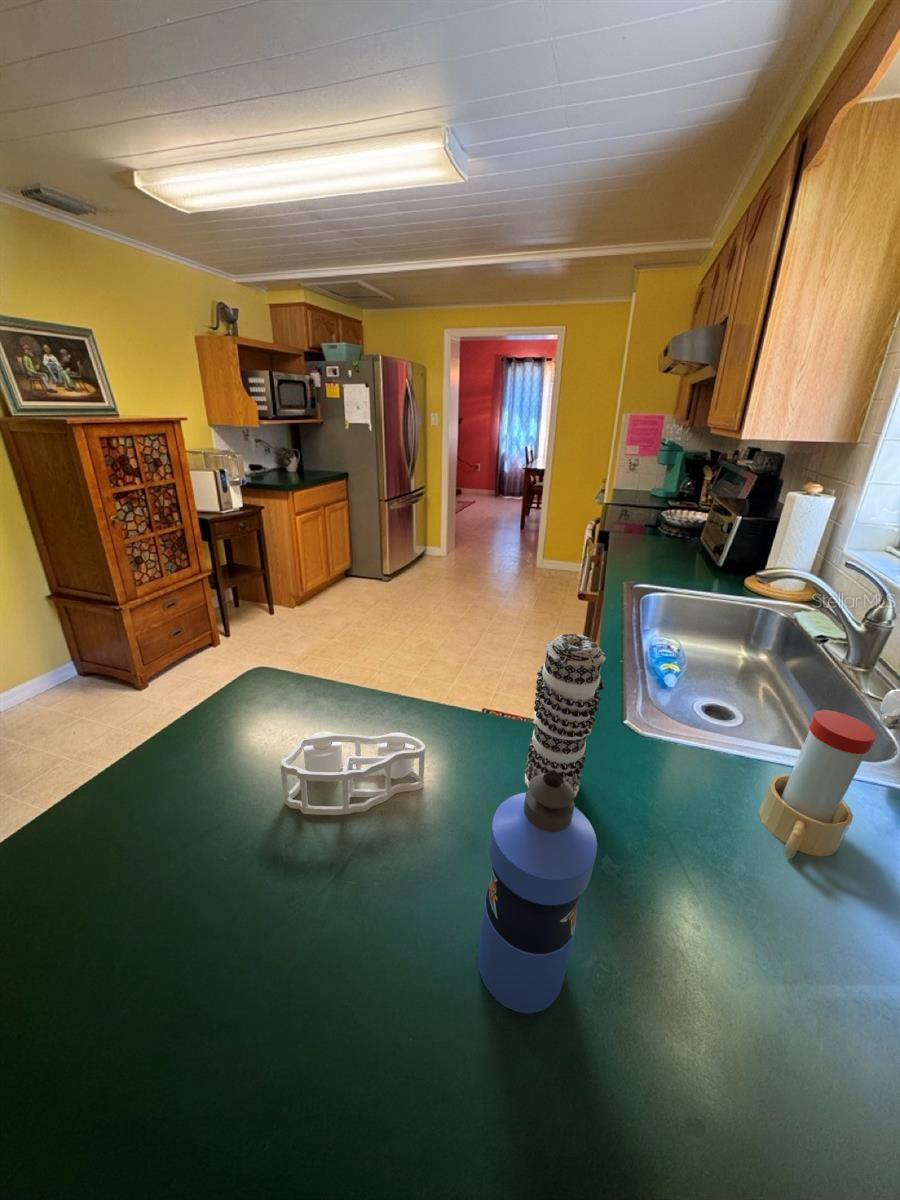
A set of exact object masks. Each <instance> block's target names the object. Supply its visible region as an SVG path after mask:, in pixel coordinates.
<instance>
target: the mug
mask: <svg viewBox="0 0 900 1200" xmlns="http://www.w3.org/2000/svg"><path fill="white" fill-rule="evenodd" d="M790 775H791V773H784V774H783V773H782V774H778V775H776V776H774V777H772V779H771V781H770V782H769V786H768V788H767V790H766V793H765V795H764V797H763V800H762V802H761V805H760V808H759V811H758V812H759V817H760V820H761V823H762V824H763V825H764V827H765V828H766V829H767V830H768V831H769V833H771V835H773V836H774V837H775V838H777V839H778V840H779V841H781V842H782V843H783V844H785V846H784V849H783V854H784V856H785V857H786V858H788V859H793V858H794V857H795V856H796V854H797V851H798V852H801V853H804V854H807V855H811V856H814V857H815V856H816V857H828V856H832V855H834V854H835V853H836V852H837V851H838V848H839V847H840V846H841V843H842V842H843V841H844V838H845V836H846V834H847V832H848V830H849V828H850V826H851V824H852V822H853V818H854V815H853V812H852V810H851V807H850V806H849V805H848V804H847V803H846V802H845V800H844V799H843V800H842V802H841V804H840V806H839V808H838V810H837V812H836V814H835V816H834V818H833V820H832V822H831V824H830V823H824V822H820V821H817V820H814V819H811V818H809V817H807V816H805V815H803V814H801V813H799V812H797V811H796V810H794V809H793V808H792V807H790V806H789V805H788V804H787V803H785V802H784V801H783V800H782V799H781V796H782V793H783V791H784V789H785V786H786V784H787V782H788V779H789V777H790Z"/></svg>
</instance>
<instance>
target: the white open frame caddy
mask: <svg viewBox="0 0 900 1200" xmlns="http://www.w3.org/2000/svg"><path fill="white" fill-rule="evenodd" d="M343 743H353V744H354V745H355V747H354V748H355V755H347V756H346V757H345V758H344V759H343ZM362 745H377V755H362ZM415 748H417V749H415ZM302 751H303V761H304V768H302V767H299V766H296V765H292V764H293V763H294V761H296V760H297V758H298V757H300V755H301V754H302ZM415 759H419V760H418V770H416V769H414V767H415ZM343 760H344V761H343ZM425 760H426V744H425V743H424V742H423V741H422V740H421V739H419V738H417V737H415V736H412V735H409V734H407V733H405V732H390V733H386V734H382V735H375V736H374V735H373V736H372V735H371V736H370V735H362V734H351V733H350V734H349V733H335V732H333V731H318V732H316V733H313V734H311V735H310V736H308V737H304V738H301V739H300V740H299V741H298V742H297V745H296V747H295V748H294V749H293V750H292V751H291V752H290V754H288V755H287V756H286V757H284V758H282V759H281V761H280V774H281V784H282V794H283V802H284V803H285V805H286V806H288V807H289V808H291V809H296V810H300V812H301V813H302V814H304V815H314V816H341V815H342V816H343V815H346V816H347V815H350V814H352V813H364V812H366V811H368V810H369V809H370V808H372V807H374V806H377V805H379V804H382V803H385V802H386V801H388V800H389V799H391V798H392V797H393V796H394V795H396V794H397V793H398V794H399V793H403V792H414V791H418V790H420V789H422V788H423V787H424V786H425ZM362 765H366V766H365V767H362ZM289 775H292V776H296V777H297V779H299V780H298V781H297V782H296V784H295V785H294V786H293V787H292V788H291V789H290V786H289V785H290V784H289ZM378 776H383V777H384V782H385V783H384V788H355V787H354V779H365V778H367V777H378ZM407 776H409V777H411V778H414V779H415V780H416V782H403V783H398V784H395V785H393V786H392V779H401V778H405V777H407ZM307 781H311V782H341V796H342V797H341V799H342V805H339V806H338V805H337V806H328V805H312V804H309V797H308V785H307V784H308V783H307ZM299 793H300V796H301V797H300V798H301V800H299V799H294V798H295V797H296V796H298V794H299ZM352 798H368V799H367V800H365V801H364V802H360V803H351V799H352ZM350 803H351V804H350Z"/></svg>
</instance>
